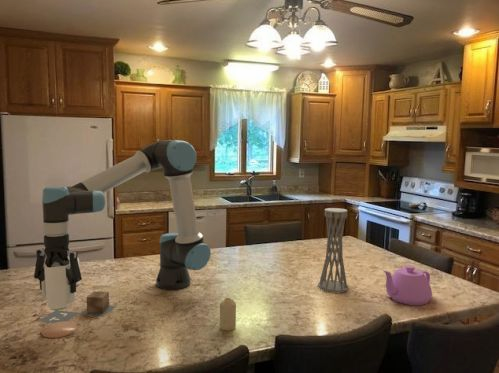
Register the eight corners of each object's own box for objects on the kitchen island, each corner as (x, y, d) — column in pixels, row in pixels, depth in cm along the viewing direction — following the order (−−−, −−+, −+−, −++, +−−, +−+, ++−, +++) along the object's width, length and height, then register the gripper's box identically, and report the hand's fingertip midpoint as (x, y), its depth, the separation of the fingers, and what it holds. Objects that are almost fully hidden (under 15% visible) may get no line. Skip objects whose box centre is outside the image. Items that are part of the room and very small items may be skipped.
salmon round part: (84, 324, 142) (84, 323, 142) (63, 339, 132) (63, 337, 132) (56, 321, 145) (56, 319, 145) (33, 335, 134) (33, 333, 134)
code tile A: (79, 313, 152) (79, 312, 152) (62, 325, 143) (62, 324, 143) (56, 311, 154) (56, 309, 154) (37, 322, 145) (37, 321, 145)
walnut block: (109, 306, 158) (108, 291, 157) (102, 313, 152) (102, 297, 151) (93, 306, 158) (93, 291, 158) (86, 312, 152) (86, 297, 152)
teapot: (413, 288, 185) (415, 258, 183) (445, 302, 168) (448, 270, 167) (368, 295, 175) (369, 263, 174) (397, 311, 159) (399, 276, 157)
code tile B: (117, 307, 159) (117, 306, 159) (102, 317, 149) (102, 316, 149) (94, 304, 161) (94, 303, 161) (78, 314, 151) (78, 313, 151)
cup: (47, 313, 132) (46, 268, 131) (45, 305, 138) (43, 262, 137) (72, 308, 136) (70, 265, 135) (68, 301, 142) (67, 259, 141)
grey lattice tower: (354, 287, 184) (357, 210, 180) (338, 295, 174) (341, 213, 171) (328, 280, 193) (330, 206, 190) (311, 287, 184) (314, 209, 180)
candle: (219, 323, 145) (219, 296, 144) (235, 323, 145) (235, 296, 144) (219, 331, 140) (220, 302, 138) (236, 330, 140) (236, 302, 139)
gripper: (92, 233, 136) (94, 299, 138) (35, 229, 141) (38, 293, 143) (78, 238, 129) (80, 308, 131) (19, 234, 133) (21, 301, 136)
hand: (58, 300), depth 137 cm, fingers closed on cup, 9 cm apart
